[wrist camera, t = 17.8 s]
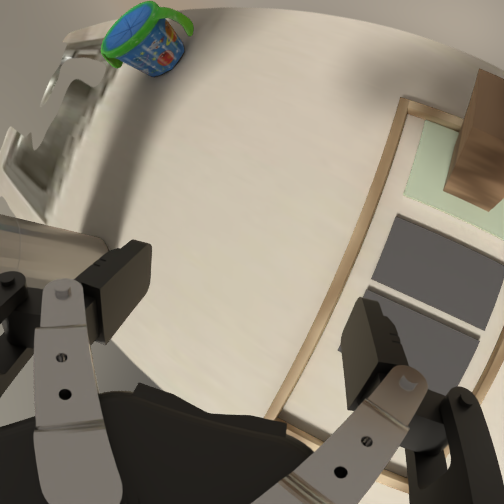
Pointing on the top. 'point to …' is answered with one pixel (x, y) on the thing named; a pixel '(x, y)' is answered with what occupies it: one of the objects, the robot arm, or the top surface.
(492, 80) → the walnut block
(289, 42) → the top surface
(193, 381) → the top surface
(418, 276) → the trap squares
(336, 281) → the tray
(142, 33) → the snack cup
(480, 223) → the pad
